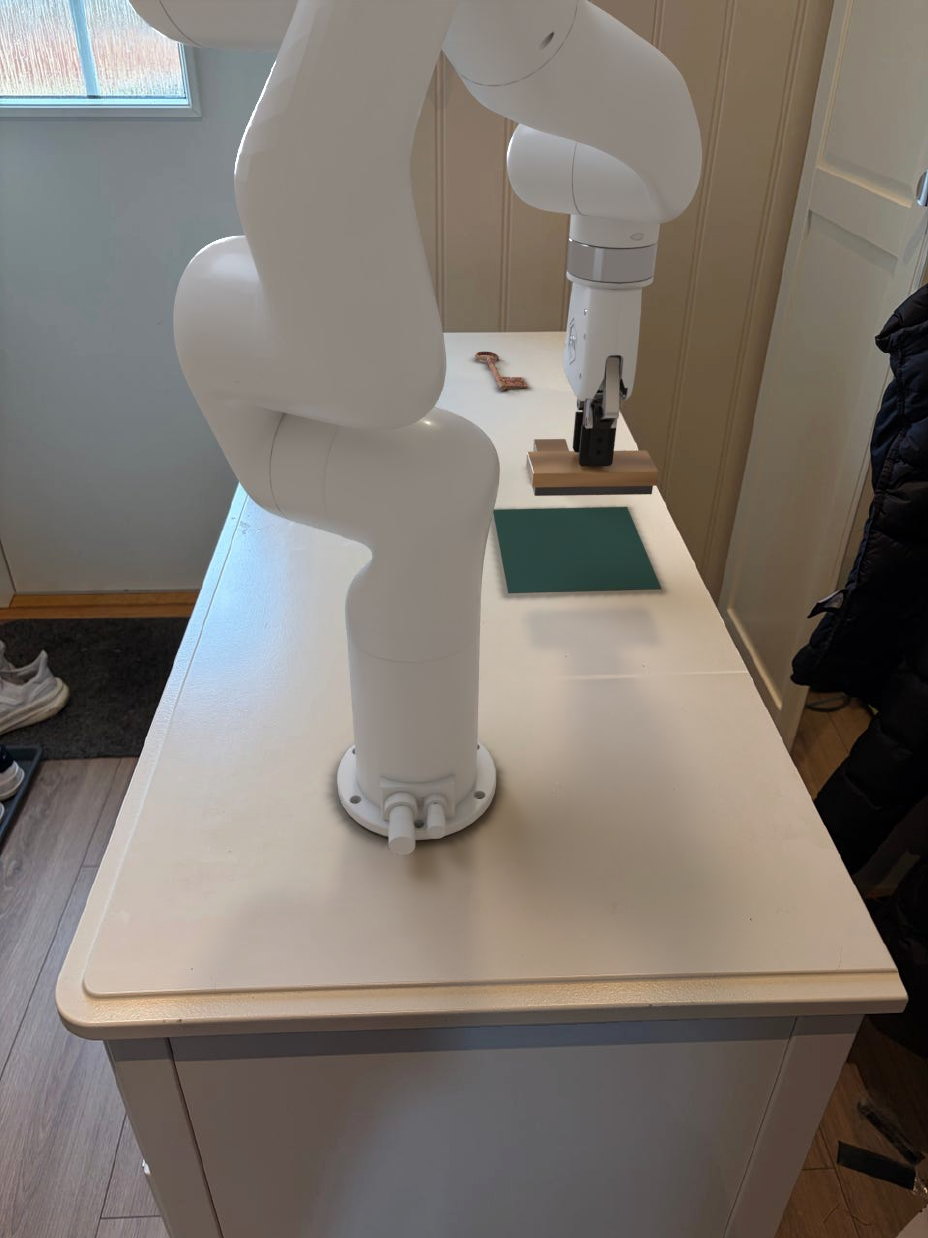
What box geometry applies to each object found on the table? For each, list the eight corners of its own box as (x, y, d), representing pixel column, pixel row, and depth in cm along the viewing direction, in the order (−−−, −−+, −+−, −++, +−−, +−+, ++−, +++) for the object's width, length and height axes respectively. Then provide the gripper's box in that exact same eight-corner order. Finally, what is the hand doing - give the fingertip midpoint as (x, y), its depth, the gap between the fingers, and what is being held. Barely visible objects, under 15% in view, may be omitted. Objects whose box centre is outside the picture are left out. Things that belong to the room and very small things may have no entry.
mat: (661, 591, 102) (661, 588, 102) (508, 595, 102) (508, 592, 101) (626, 508, 117) (627, 506, 117) (492, 511, 116) (492, 509, 116)
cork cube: (567, 481, 123) (569, 452, 121) (535, 482, 123) (537, 452, 121) (563, 467, 126) (565, 438, 124) (532, 468, 126) (533, 439, 124)
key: (527, 391, 148) (507, 356, 160) (528, 385, 148) (508, 350, 160) (489, 390, 147) (472, 354, 159) (490, 384, 146) (473, 349, 159)
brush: (655, 495, 95) (667, 411, 90) (531, 497, 94) (537, 412, 90) (644, 472, 99) (654, 391, 94) (525, 474, 98) (530, 392, 94)
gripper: (553, 238, 91) (541, 425, 102) (584, 286, 78) (566, 496, 88) (633, 238, 92) (613, 425, 102) (677, 286, 79) (649, 495, 89)
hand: (592, 456), depth 95 cm, fingers closed on brush, 2 cm apart
